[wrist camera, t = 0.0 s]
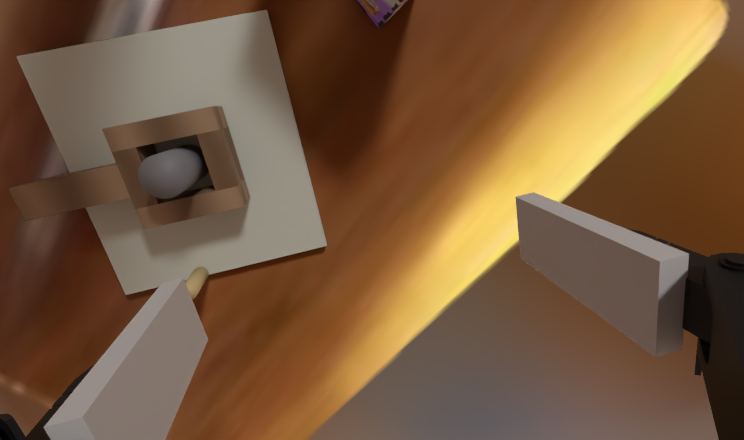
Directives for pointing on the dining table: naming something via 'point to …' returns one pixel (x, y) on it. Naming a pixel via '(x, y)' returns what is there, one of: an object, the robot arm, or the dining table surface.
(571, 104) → the dining table surface
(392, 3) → the candy box
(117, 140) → the wooden frame with handle
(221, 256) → the post board
